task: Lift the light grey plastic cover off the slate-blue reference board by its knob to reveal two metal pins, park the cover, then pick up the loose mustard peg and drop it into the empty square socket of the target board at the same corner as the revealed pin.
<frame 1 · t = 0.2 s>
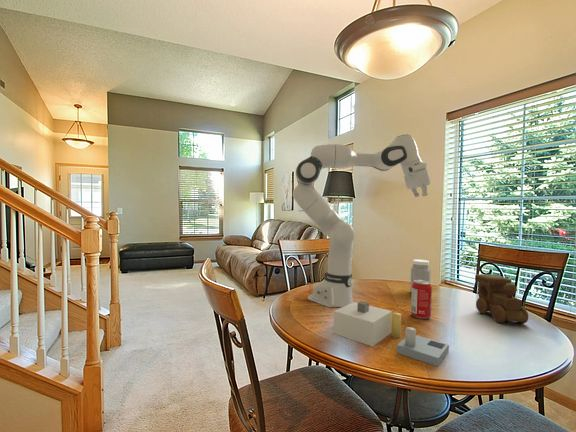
hand: (421, 196, 140), 52 cm above the table, tool tilted 20°, fingers open, 8 cm apart
soda can: (420, 317, 127), on the table
target board: (422, 352, 95), on the table
wooden toy train: (499, 318, 128), on the table
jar: (419, 293, 162), on the table
cover: (362, 332, 108), on the table
peg: (395, 336, 106), on the table
reference board: (362, 332, 108), on the table
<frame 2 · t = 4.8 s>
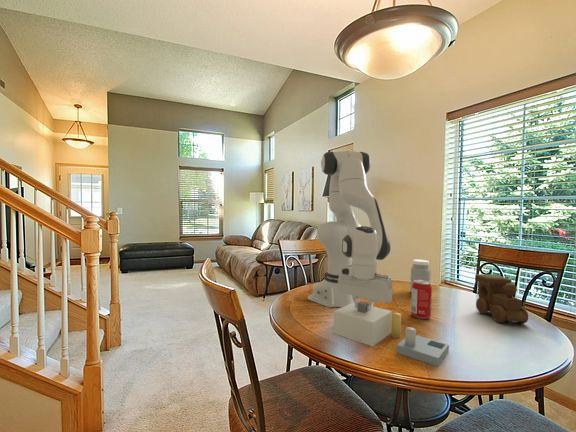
hand: (363, 309, 108), 9 cm above the table, tool pointing down, fingers closed on cover, 3 cm apart
cover: (362, 332, 108), on the table, touching gripper
everything else where it was.
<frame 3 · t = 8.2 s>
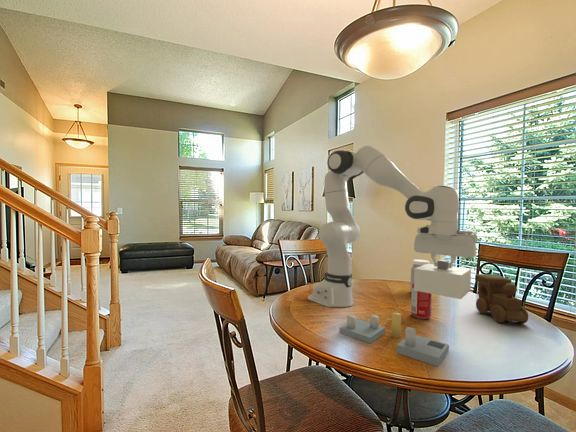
hand: (443, 267, 109), 24 cm above the table, tool pointing down, fingers closed on cover, 3 cm apart
cover: (442, 290, 110), point 16 cm above the table, touching gripper
everything else where it was.
when the fingers open (10 cm above the table, at t = 11.3 s): cover stays where it is, on the table.
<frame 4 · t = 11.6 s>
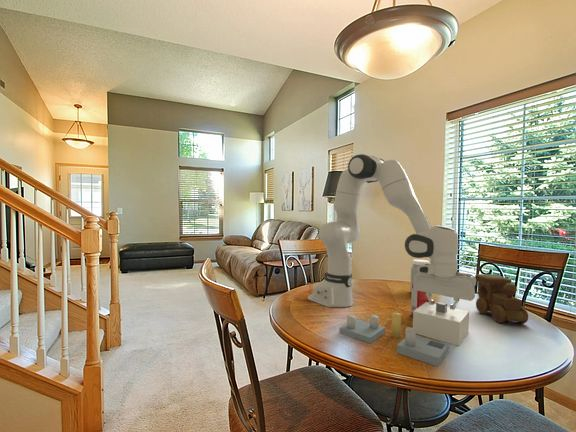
hand: (441, 307, 110), 10 cm above the table, tool pointing down, fingers open, 6 cm apart
cover: (440, 332, 110), on the table
everything else where it was.
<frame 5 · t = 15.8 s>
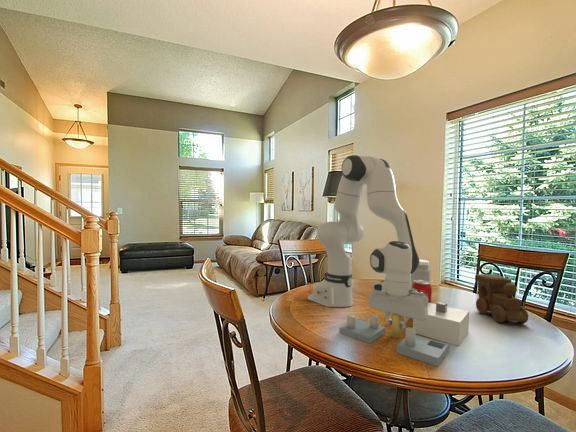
hand: (396, 326, 106), 4 cm above the table, tool pointing down, fingers closed on peg, 3 cm apart
peg: (396, 336, 106), on the table, touching gripper
everything else where it was.
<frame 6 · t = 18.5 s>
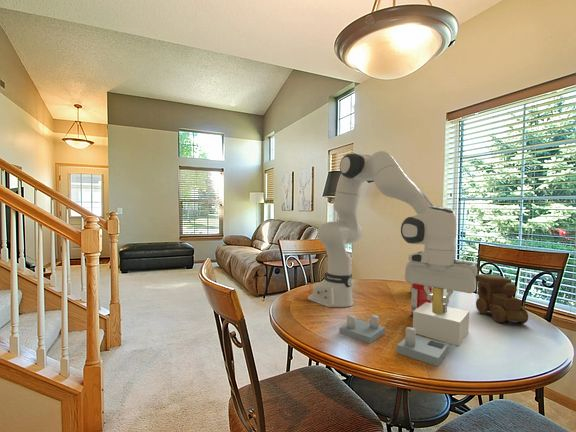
hand: (437, 301, 94), 16 cm above the table, tool pointing down, fingers closed on peg, 3 cm apart
peg: (437, 312, 94), point 13 cm above the table, touching gripper
everything else where it was.
when the fingers open (5 cm above the table, at t = 21.2 s): peg drops 1 cm, resting in target board.
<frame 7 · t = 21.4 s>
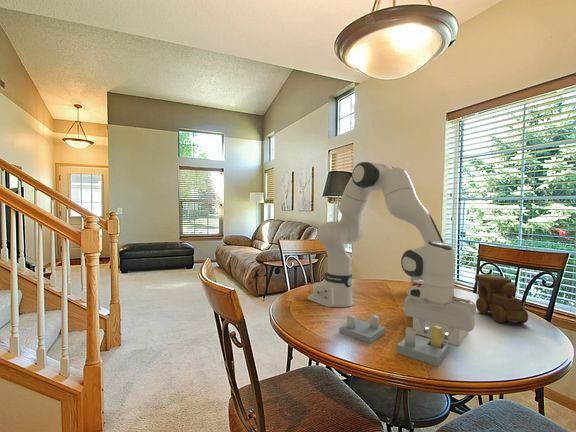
hand: (436, 336, 95), 5 cm above the table, tool pointing down, fingers open, 5 cm apart
peg: (435, 352, 95), resting in target board
everything else where it was.
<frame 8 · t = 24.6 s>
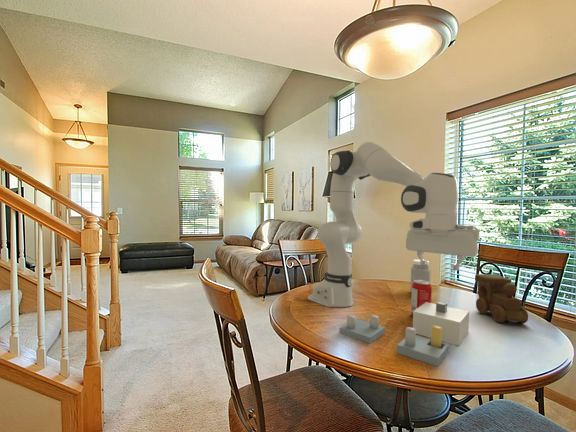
hand: (439, 267, 94), 27 cm above the table, tool pointing down, fingers open, 8 cm apart
nothing on the table moved.
at the end: peg 0.0 cm from the target spot on the target board, point 0.0 cm above the target board's base; peg tilted 0°; cover moved 29.5 cm from its start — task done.
